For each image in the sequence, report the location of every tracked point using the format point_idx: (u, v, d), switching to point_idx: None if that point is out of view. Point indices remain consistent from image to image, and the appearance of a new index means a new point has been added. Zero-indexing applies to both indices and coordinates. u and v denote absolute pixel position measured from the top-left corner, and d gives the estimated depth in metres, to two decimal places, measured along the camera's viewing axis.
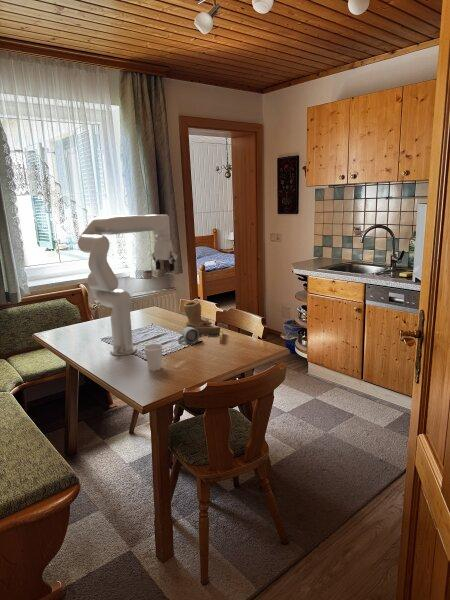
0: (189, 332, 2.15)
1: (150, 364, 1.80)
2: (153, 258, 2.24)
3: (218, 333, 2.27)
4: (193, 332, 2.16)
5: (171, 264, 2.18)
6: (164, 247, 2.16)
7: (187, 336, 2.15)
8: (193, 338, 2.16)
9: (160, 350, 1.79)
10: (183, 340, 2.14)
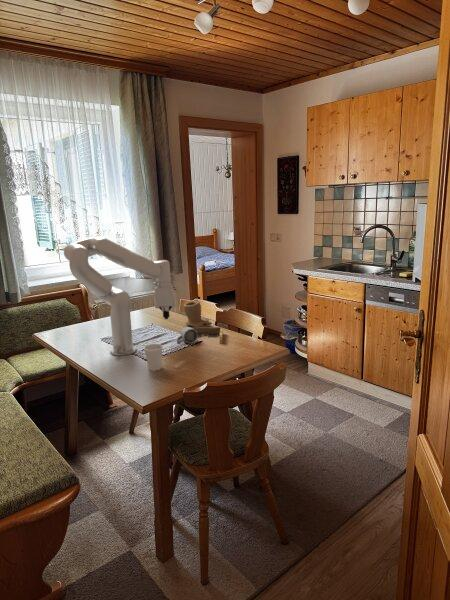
0: (188, 332, 2.15)
1: (150, 364, 1.80)
2: (160, 307, 2.13)
3: (218, 333, 2.27)
4: (192, 332, 2.15)
5: (167, 312, 2.14)
6: (169, 293, 2.10)
7: (186, 336, 2.15)
8: (192, 338, 2.16)
9: (160, 350, 1.79)
10: (182, 340, 2.14)
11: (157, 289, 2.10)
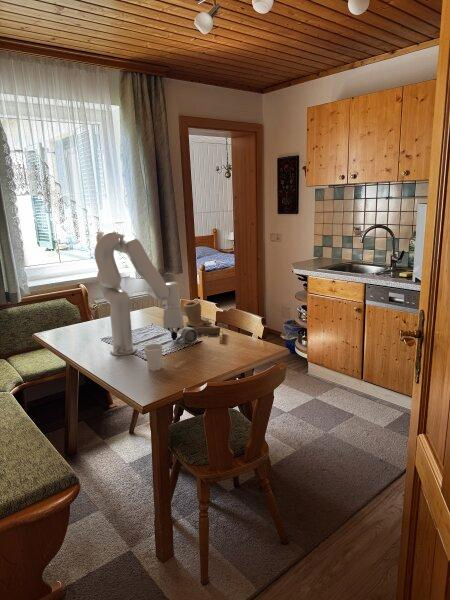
0: (188, 332, 2.14)
1: (150, 364, 1.80)
2: (168, 329, 2.16)
3: (218, 333, 2.27)
4: (192, 332, 2.15)
5: (175, 333, 2.16)
6: (177, 315, 2.12)
7: (186, 336, 2.15)
8: (192, 338, 2.16)
9: (160, 350, 1.79)
10: (182, 340, 2.13)
11: (166, 311, 2.12)
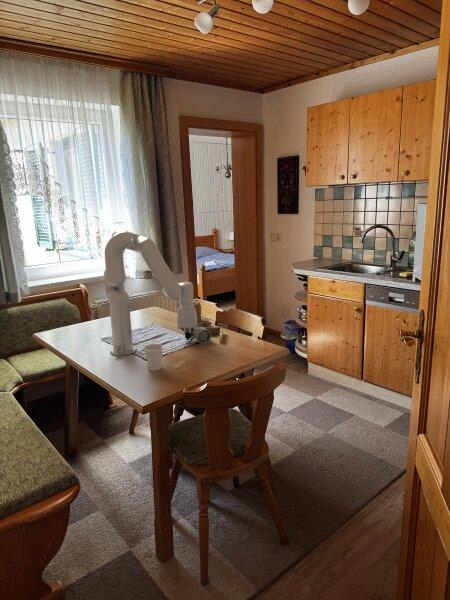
0: (201, 333, 2.13)
1: (150, 364, 1.80)
2: (182, 329, 2.16)
3: (218, 333, 2.27)
4: (205, 333, 2.14)
5: (189, 333, 2.16)
6: (192, 315, 2.12)
7: (199, 337, 2.14)
8: (205, 339, 2.15)
9: (160, 350, 1.79)
10: (195, 341, 2.12)
11: (180, 311, 2.12)
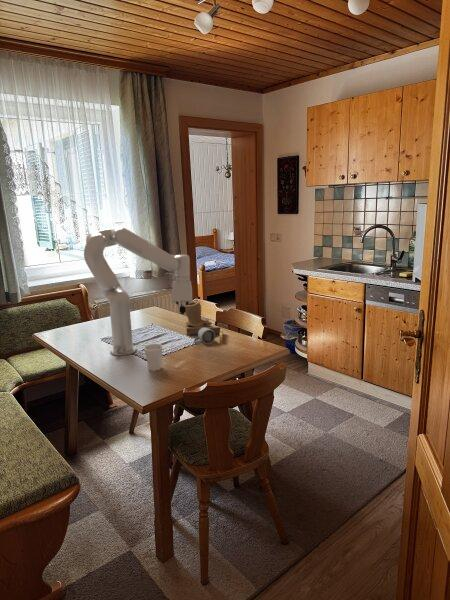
0: (205, 333, 2.13)
1: (150, 364, 1.80)
2: (176, 302, 2.12)
3: (218, 333, 2.27)
4: (209, 333, 2.14)
5: (184, 307, 2.13)
6: (187, 288, 2.09)
7: (203, 337, 2.13)
8: (209, 339, 2.14)
9: (160, 350, 1.79)
10: (199, 341, 2.12)
11: (175, 283, 2.08)
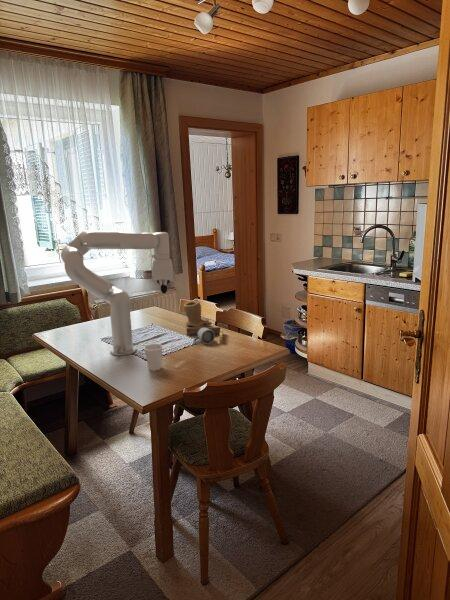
0: (205, 333, 2.13)
1: (150, 364, 1.80)
2: (157, 281, 2.08)
3: (218, 333, 2.27)
4: (209, 333, 2.13)
5: (165, 286, 2.09)
6: (167, 266, 2.04)
7: (203, 337, 2.13)
8: (209, 339, 2.14)
9: (160, 350, 1.79)
10: (199, 341, 2.12)
11: (155, 262, 2.04)
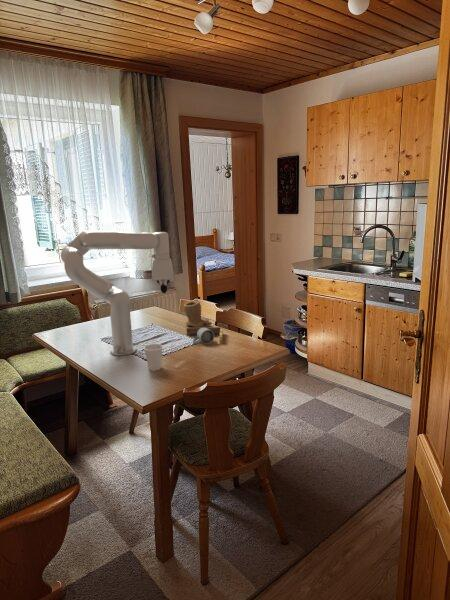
0: (204, 333, 2.12)
1: (150, 364, 1.80)
2: (157, 281, 2.08)
3: (218, 333, 2.27)
4: (208, 333, 2.13)
5: (165, 286, 2.09)
6: (167, 266, 2.04)
7: (202, 337, 2.13)
8: (208, 339, 2.14)
9: (160, 350, 1.79)
10: (198, 341, 2.12)
11: (155, 261, 2.04)
